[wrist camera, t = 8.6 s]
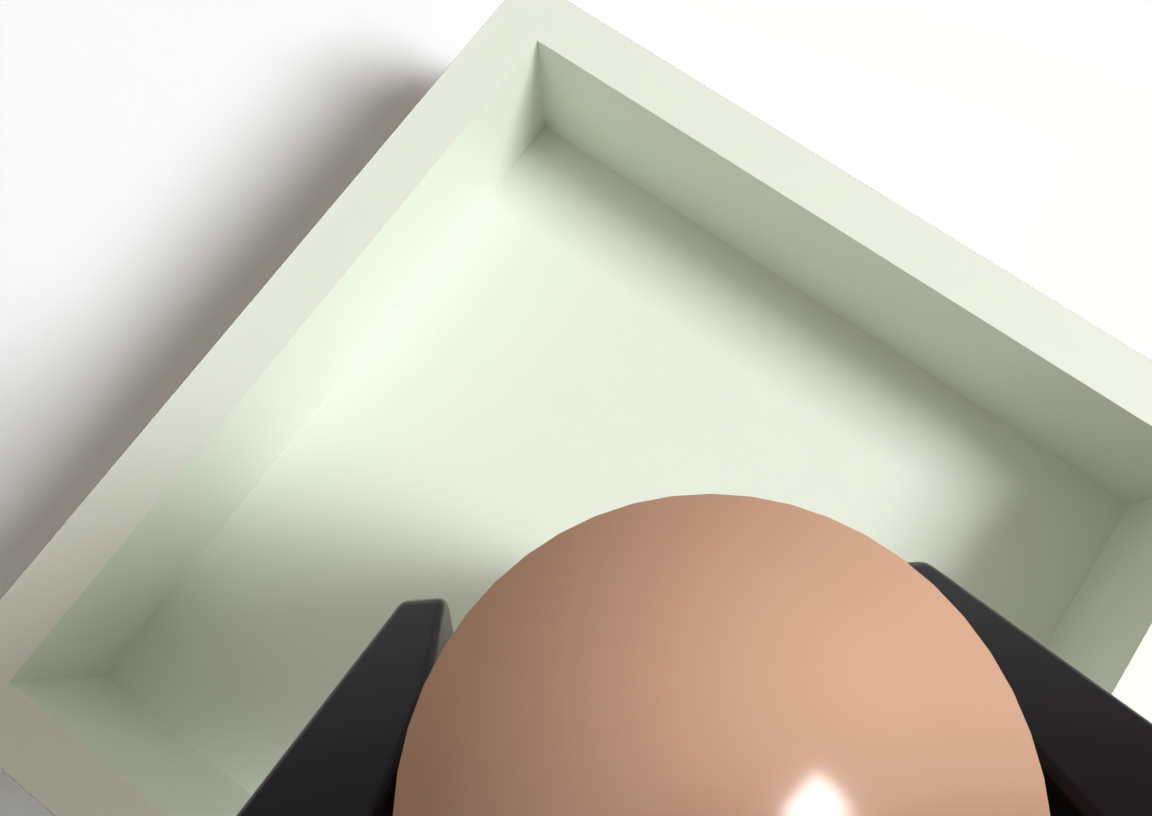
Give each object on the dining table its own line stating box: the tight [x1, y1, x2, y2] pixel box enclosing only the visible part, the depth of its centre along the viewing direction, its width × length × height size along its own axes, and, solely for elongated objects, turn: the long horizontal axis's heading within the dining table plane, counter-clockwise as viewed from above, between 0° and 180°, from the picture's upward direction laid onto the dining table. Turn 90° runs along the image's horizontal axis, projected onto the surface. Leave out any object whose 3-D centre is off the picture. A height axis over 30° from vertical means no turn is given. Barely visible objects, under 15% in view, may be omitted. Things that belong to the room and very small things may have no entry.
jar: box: [393, 494, 1050, 816], centre depth 11 cm, size 4×4×10 cm
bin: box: [0, 0, 1152, 816], centre depth 17 cm, size 16×16×4 cm
